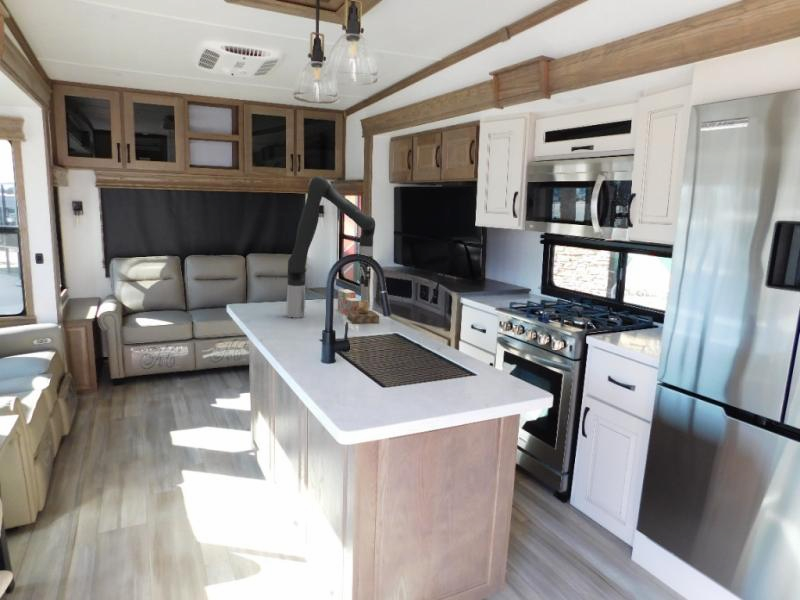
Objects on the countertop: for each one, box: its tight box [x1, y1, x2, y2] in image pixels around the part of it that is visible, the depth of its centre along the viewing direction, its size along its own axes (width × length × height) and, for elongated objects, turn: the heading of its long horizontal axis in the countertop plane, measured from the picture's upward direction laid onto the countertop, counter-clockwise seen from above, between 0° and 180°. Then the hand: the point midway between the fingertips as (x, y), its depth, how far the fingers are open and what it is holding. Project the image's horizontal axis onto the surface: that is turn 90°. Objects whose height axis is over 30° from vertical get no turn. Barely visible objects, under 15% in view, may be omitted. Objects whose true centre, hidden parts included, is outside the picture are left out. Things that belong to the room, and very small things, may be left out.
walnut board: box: [346, 310, 380, 325], centre depth 292 cm, size 14×14×4 cm
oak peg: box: [359, 299, 370, 314], centre depth 291 cm, size 5×5×10 cm
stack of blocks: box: [337, 289, 362, 316], centre depth 309 cm, size 21×6×12 cm, turn 25°
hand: (364, 285), depth 289 cm, fingers open, 8 cm apart
